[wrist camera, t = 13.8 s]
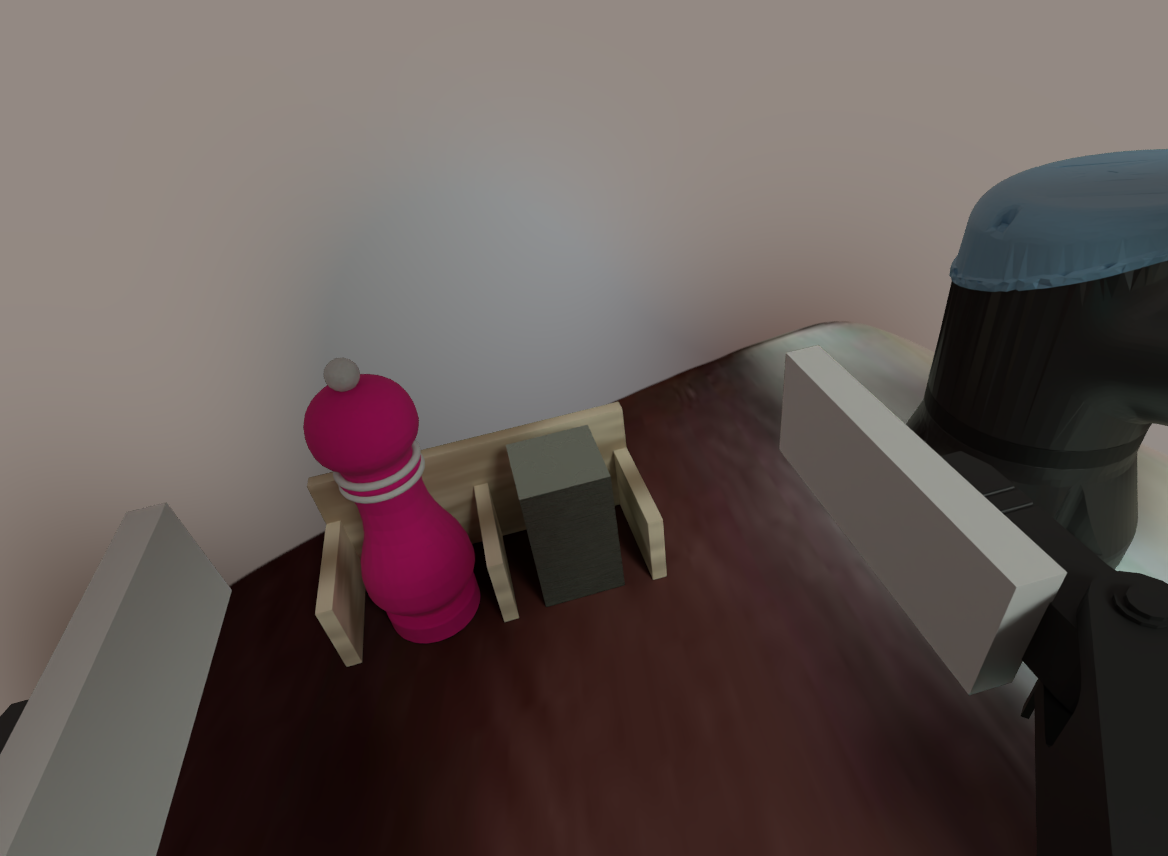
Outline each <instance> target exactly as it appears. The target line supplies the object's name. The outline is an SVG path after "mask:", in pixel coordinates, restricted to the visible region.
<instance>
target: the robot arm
mask: <svg viewBox="0 0 1168 856" xmlns="http://www.w3.org/2000/svg"><path fill="white" fill-rule="evenodd" d="M950 277H951V279H952V283H951V287H950V292H949V296H948V300H947V304H946V309H945V313H944V317H943V321H942V326H941V330H940V334H939V338H938V342H937V346H936V350H935V354H934V358H933V362H932V366H931V370H930V374H929V379H928V383H927V387H926V391H925V395H924V399H923V401H922V403H921V404H920V405H919V407H918V408H917V409H916V411H915V412H914V414H913V415H912V416H911V418H910V419H909V420H908V422H907V423H906V424H904V423H903V422H902V421H901V420H900V419H899V418H898V417H897V416H896V415H895V414H894V413H892V412H891V411H890V410H889V409H888V408H887V407H886V406H885V405H884V404H883V403H882V402H880V401H879V400H878V399H877V398H876V397H875V396H874V395H873V394H872V393H871V392H870V391H868V390H867V389H866V388H865V387H864V386H863V385H862V384H861V383H860V382H859V381H858V380H856V379H855V378H854V377H853V376H852V375H851V374H850V373H849V372H848V371H847V370H846V369H844V368H843V367H842V366H841V365H840V364H839V363H838V362H837V361H836V360H835V359H834V358H832V357H831V356H830V355H829V354H828V353H827V352H826V351H825V350H824V349H823V348H822V347H820V346H819V345H816V346H812V347H808V348H804V349H800V350H795V351H791V352H787V353H786V360H785V374H784V389H783V403H782V418H781V432H780V447H779V450H780V451H781V452H782V454H783V455H784V456H785V458H786V459H787V460H788V461H789V463H790V464H791V465H792V467H793V468H794V469H795V470H796V472H797V473H798V474H799V476H800V477H801V478H802V480H803V481H804V482H805V483H806V485H807V486H808V487H809V489H810V490H811V491H812V492H813V494H814V495H815V496H816V498H817V499H818V500H819V502H820V503H821V504H822V505H823V507H824V508H825V509H826V511H827V512H828V513H829V515H830V516H831V517H832V518H833V520H834V521H835V522H836V524H837V525H838V526H839V527H840V529H841V530H842V531H843V533H844V534H845V535H846V537H847V538H848V539H849V540H850V542H851V543H852V544H853V546H854V547H855V548H856V550H857V551H858V552H859V553H860V555H861V556H862V557H863V559H864V560H865V561H866V562H867V564H868V565H869V566H870V568H871V569H872V570H873V572H874V573H875V574H876V575H877V577H878V578H879V579H880V581H881V582H882V583H883V584H884V586H885V587H886V588H887V590H888V591H889V592H890V594H891V595H892V596H893V597H894V599H895V600H896V601H897V603H898V604H899V605H900V607H901V608H902V609H903V610H904V612H905V613H906V614H907V616H908V617H909V618H910V619H911V621H912V622H913V623H914V625H915V626H916V627H917V629H918V630H919V631H920V632H921V634H922V635H923V636H924V638H925V639H926V640H927V642H928V643H929V644H930V645H931V647H932V648H933V649H934V651H935V652H936V653H937V654H938V656H939V657H940V658H941V660H942V661H943V662H944V664H945V665H946V666H947V667H948V669H949V670H950V671H951V673H952V674H953V675H954V676H955V678H956V679H957V680H958V682H959V683H960V684H961V686H962V687H963V688H964V689H965V691H966V692H967V693H968V695H972V694H975V693H978V692H982V691H985V690H988V689H992V688H995V687H998V686H1001V685H1005V684H1008V683H1011V682H1012V681H1013V679H1014V677H1015V675H1016V673H1017V671H1018V669H1019V667H1020V665H1021V663H1022V661H1023V662H1024V663H1025V664H1026V665H1027V666H1028V667H1029V668H1030V670H1031V671H1032V672H1033V673H1034V674H1035V675H1036V676H1037V677H1038V680H1037V682H1036V684H1035V686H1034V687H1033V689H1032V691H1031V693H1030V695H1029V697H1028V698H1027V700H1026V702H1025V704H1024V706H1023V710H1022V713H1021V717H1024V718H1027V719H1029V718H1030V716H1031V714H1032V712H1033V711H1034V709H1035V764H1036V827H1037V856H1168V584H1167V583H1165V582H1163V581H1161V580H1158V579H1155V578H1152V577H1149V576H1146V575H1143V574H1140V573H1132V572H1123V571H1116V570H1114V569H1115V568H1116V567H1117V566H1118V565H1119V563H1120V561H1121V560H1122V558H1123V556H1124V554H1125V552H1126V551H1127V549H1128V547H1129V545H1130V544H1131V542H1132V540H1133V538H1134V535H1135V532H1136V527H1137V521H1138V501H1137V451H1138V449H1139V447H1140V445H1141V443H1142V441H1143V439H1144V436H1145V434H1146V433H1147V431H1148V429H1149V427H1150V426H1151V424H1152V423H1155V424H1161V425H1165V426H1168V149H1157V150H1136V151H1123V152H1113V153H1105V154H1098V155H1089V156H1083V157H1077V158H1071V159H1066V160H1062V161H1057V162H1053V163H1049V164H1045V165H1042V166H1039V167H1035V168H1031V169H1029V170H1026V171H1023V172H1021V173H1018V174H1016V175H1013V176H1011V177H1009V178H1007V179H1005V180H1003V181H1001V182H1000V183H998V184H997V185H995V186H994V187H992V188H991V189H990V190H988V191H987V192H986V193H985V194H984V195H983V196H982V197H981V198H980V199H979V201H978V202H977V204H976V205H975V206H974V208H973V210H972V212H971V214H970V217H969V220H968V223H967V226H966V230H965V233H964V237H963V240H962V243H961V247H960V250H959V253H958V255H957V257H956V258H955V259H954V261H953V262H952V265H951V268H950ZM231 591H232V590H231V588H230V587H229V586H228V584H227V583H226V582H225V580H224V579H223V578H222V576H221V575H220V574H219V572H218V571H217V570H216V568H215V567H214V566H213V565H212V563H211V562H210V560H209V559H208V558H207V556H206V555H205V554H204V552H203V551H202V550H201V548H200V547H199V546H198V544H197V543H196V542H195V540H194V539H193V538H192V536H191V535H190V533H189V532H188V531H187V529H186V528H185V527H184V525H183V524H182V523H181V521H180V520H179V519H178V517H177V516H176V515H175V513H174V512H173V511H172V509H171V508H170V507H169V505H168V504H167V503H163V504H158V505H154V506H150V507H146V508H142V509H138V510H134V511H130V512H127V513H126V514H125V516H124V518H123V520H122V522H121V524H120V526H119V528H118V530H117V532H116V534H115V535H114V537H113V539H112V541H111V543H110V545H109V547H108V549H107V551H106V553H105V555H104V557H103V558H102V561H101V562H100V564H99V566H98V568H97V570H96V572H95V574H94V576H93V578H92V580H91V582H90V583H89V585H88V587H87V589H86V591H85V593H84V595H83V597H82V599H81V601H80V603H79V605H78V606H77V609H76V610H75V612H74V614H73V616H72V618H71V620H70V622H69V624H68V626H67V628H66V629H65V632H64V633H63V635H62V637H61V639H60V641H59V643H58V645H57V647H56V649H55V651H54V653H53V654H52V656H51V658H50V660H49V662H48V664H47V666H46V668H45V670H44V672H43V674H42V676H41V678H40V679H39V681H38V683H37V685H36V687H35V689H34V691H33V693H32V695H31V697H30V699H29V700H25V701H21V702H18V703H14V704H11V705H10V706H9V707H8V709H7V710H6V711H5V712H4V713H3V714H2V715H1V716H0V856H156V853H157V850H158V846H159V843H160V839H161V836H162V832H163V829H164V825H165V822H166V818H167V815H168V811H169V808H170V805H171V801H172V798H173V794H174V791H175V787H176V784H177V780H178V777H179V773H180V770H181V766H182V763H183V759H184V756H185V752H186V749H187V745H188V742H189V738H190V735H191V731H192V728H193V724H194V721H195V717H196V714H197V710H198V707H199V703H200V700H201V696H202V693H203V689H204V686H205V682H206V679H207V675H208V672H209V668H210V665H211V661H212V658H213V654H214V651H215V647H216V644H217V640H218V637H219V633H220V630H221V626H222V623H223V619H224V616H225V612H226V609H227V605H228V602H229V598H230V595H231Z"/></svg>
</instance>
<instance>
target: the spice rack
mask: <svg viewBox="0 0 1168 856" xmlns="http://www.w3.org/2000/svg"><path fill="white" fill-rule="evenodd" d="M584 425H588V426H589V429H590V431H591V433H592V435H593V438H594V440H595V442H596V444H597V447H598V449H599V451H600V453H601V456H602V458H603V460H604V462H605V465H606V467H607V469H608V471H609V474H610V476H611V483H612V490H613V498H614V506H616V505H620V506H621V508H622V510H623V512H624V515H625V517H626V519H627V522H628V524H629V526H630V528H631V531H632V533H633V535H634V538H635V540H636V542H637V544H638V547H639V549H640V551H641V554H642V556H643V558H644V560H645V563H646V565H647V567H648V570H649V572H650V574H651V576H652V579H653V580H654V579H658V578H661V577H665V576H667V573H666V558H665V544H664V529H663V519H662V517H661V515H660V513H659V511H658V509H657V507H656V505H655V503H654V501H653V499H652V497H651V495H650V493H649V491H648V489H647V487H646V485H645V483H644V481H643V479H642V477H641V476H640V474H639V472H638V470H637V468H636V466H635V464H634V462H633V460H632V458H631V456H630V454H629V452H628V450H627V448H626V440H625V431H624V421H623V412H622V408H621V406H620V404H619V402H615V403H611V404H607V405H603V406H599V407H595V408H591V409H587V410H582V411H578V412H574V413H570V414H566V415H562V416H558V417H554V418H550V419H546V420H542V421H538V422H534V423H530V424H525V425H522V426H518V427H513V428H509V429H505V430H501V431H497V432H493V433H489V434H485V435H481V436H477V437H473V438H469V439H464V440H460V441H456V442H453V443H449V444H444V445H440V446H436V447H432V448H428V449H424V450H421V454H422V455H423V457H424V460H425V468H424V471H423V473H422V475H421V476H422V480H423V482H424V484H425V486H426V488H427V490H428V492H429V493H430V495H431V496H432V497H433V498H434V500H435V501H436V502H437V503H438V504H439V505H440V506H442V507H443V508H444V509H445V510H446V511H447V512H449V513H450V514H451V515H452V516H453V517H455V518H456V519H457V521H458V522H459V523H460V524H461V526H462V527H463V528H464V530H465V531H466V532H467V534H468V537H469V539H470V541H471V543H472V544H474V543H478V542H481V541H483V546H484V552H485V558H486V564H487V569H488V572H489V575H490V578H491V581H492V585H493V588H494V591H495V594H496V597H497V600H498V603H499V606H500V610H501V613H502V616H503V619H504V622H507V621H510V620H514V619H517V618H519V615H518V610H517V605H516V600H515V595H514V590H513V585H512V580H511V575H510V570H509V565H508V560H507V555H506V550H505V545H504V540H503V536H504V535H508V534H511V533H515V532H519V531H523V530H526V525H525V521H524V517H523V513H522V509H521V505H520V501H519V497H518V493H517V489H516V485H515V481H514V477H513V473H512V469H511V465H510V461H509V457H508V452H507V448H506V445H508V444H512V443H516V442H520V441H524V440H528V439H532V438H536V437H540V436H544V435H548V434H552V433H556V432H560V431H564V430H568V429H572V428H576V427H580V426H584ZM307 488H308V490H309V492H310V494H311V496H312V498H313V499H314V501H315V503H316V505H317V507H318V509H319V511H320V513H321V515H322V517H323V519H324V521H325V522H326V530H325V538H324V546H323V554H322V562H321V570H320V578H319V587H318V595H317V603H316V611H315V615H316V617H317V618H318V620H319V622H320V623H321V625H322V627H323V628H324V630H325V632H326V633H327V635H328V637H329V638H330V640H331V642H332V643H333V645H334V647H335V648H336V650H337V652H338V653H339V655H340V657H341V658H342V660H343V662H344V663H345V665H346V667H348V666H352V665H355V664H359V663H362V655H363V632H364V610H365V588H366V587H365V585H364V582H363V579H362V573H361V554H362V546H363V540H364V530H363V522H362V519H361V516H360V513H359V510H358V508H357V506H356V504H355V502H353V501H351V500H348V499H346V498H345V497H344V496H343V495H342V494H341V492H340V490H339V486H338V484H337V483H336V481H335V480H334V477H333V472H330V473H326V474H322V475H318V476H314V477H310V478H309V479H308V485H307Z"/></svg>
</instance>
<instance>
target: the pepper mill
mask: <svg viewBox="0 0 1168 856" xmlns="http://www.w3.org/2000/svg"><path fill="white" fill-rule="evenodd" d="M324 379H325V382H326V383H327V386H326V387H324V388H323V389H322V390H321V391H320V392H319V393H318V394H317V395H316V396H315V397H314V398H313V400H312V401H311V403H310V405H309V406H308V408H307V411H306V413H305V418H304V427H303V428H304V434H305V440H306V443H307V445H308V448H309V450H310V451H311V453H312V455H313V456H314V458H315V459H316V460H317V461H318V462H319V463H320V464H321V465H322V466H324V467H326V468H328V469H330V470H332V471H333V477H334V480H335V481H336V483H337V484H338V486H339V490H340V492H341V494H342V495H343V496H344V497H345V498H346V499H348V500H351V501H353V502H355V504H356V506H357V508H358V510H359V513H360V516H361V519H362V522H363V530H364V540H363V546H362V554H361V573H362V579H363V582H364V585H365V587H366V590H367V593H368V595H369V597H370V598H371V599H372V601H373V602H374V603H375V604H376V605H377V606H379V607H380V608H381V609H383V610H385V611H386V612H387V615H388V617H389V619H390V621H391V623H392V625H393V627H394V629H395V631H396V632H397V633H398V634H399V635H400V636H401V637H403V638H404V639H406V640H408V641H411V642H414V643H433V642H439V641H442V640H444V639H447V638H449V637H451V636H453V635H455V634H456V633H458V632H459V631H460V630H462V629H463V628H464V627H465V626H466V625H467V624H468V623H469V622H470V621H471V620H472V618H473V617H474V615H475V613H476V611H477V609H478V606H479V603H480V589H479V586H478V583H477V580H476V577H475V574H474V572H473V569H474V564H475V553H474V548H473V546H472V543H471V541H470V539H469V537H468V534H467V532H466V531H465V530H464V528H463V527H462V526H461V524H460V523H459V522H458V521H457V519H456V518H455V517H453V516H452V515H451V514H450V513H449V512H447V511H446V510H445V509H444V508H443V507H442V506H440V505H439V504H438V503H437V502H436V501H435V500H434V498H433V497H432V496H431V495H430V493H429V492H428V490H427V488H426V486H425V484H424V482H423V480H422V476H421V475H422V473H423V471H424V468H425V460H424V457H423V455H422V454H421V450H420V446H419V444H418V442H417V441H416V440H415V438H416V436H417V432H418V426H419V420H418V419H419V418H418V414H417V411H416V408H415V405H414V403H413V401H412V399H411V398H410V396H409V395H408V393H407V392H406V391H405V390H404V389H403V388H402V387H401V386H400V385H399V384H397V383H396V382H394V381H393V380H391V379H388V378H385V377H383V376H379V375H371V374H360V372H359V369H358V367H357V365H356V364H355V363H354V362H353V361H351V360H349V359H346V358H336V359H334V360H332V361H330V362H329V363H328V364H327V365H326V367H325V369H324Z"/></svg>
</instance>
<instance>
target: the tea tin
mask: <svg viewBox="0 0 1168 856" xmlns="http://www.w3.org/2000/svg"><path fill="white" fill-rule="evenodd" d="M506 448H507V452H508V457H509V461H510V465H511V469H512V473H513V477H514V481H515V485H516V489H517V493H518V497H519V501H520V505H521V509H522V513H523V517H524V521H525V525H526V529H527V533H528V537H529V541H530V545H531V549H532V553H533V557H534V561H535V565H536V569H537V573H538V577H539V581H540V585H541V589H542V593H543V597H544V601H545V605H546V607H549V606H552V605H556V604H559V603H563V602H566V601H570V600H573V599H577V598H580V597H584V596H587V595H591V594H594V593H598V592H602V591H605V590H609V589H612V588H616V587H619V586H623V585H625V582H624V575H623V567H622V559H621V552H620V544H619V536H618V529H617V521H616V513H615V506H614V498H613V490H612V483H611V476H610V474H609V471H608V469H607V467H606V465H605V462H604V460H603V458H602V456H601V453H600V451H599V449H598V447H597V444H596V442H595V440H594V438H593V435H592V433H591V431H590V429H589V426H588V425H584V426H580V427H576V428H572V429H568V430H564V431H560V432H556V433H552V434H548V435H544V436H540V437H536V438H532V439H528V440H524V441H520V442H516V443H512V444H508V445H506Z"/></svg>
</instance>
